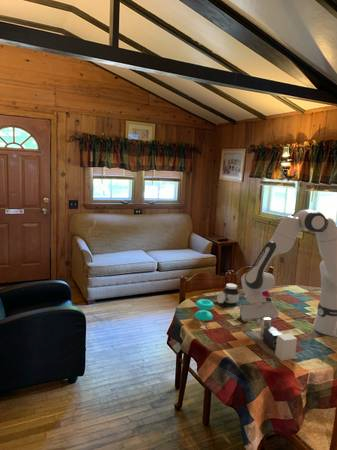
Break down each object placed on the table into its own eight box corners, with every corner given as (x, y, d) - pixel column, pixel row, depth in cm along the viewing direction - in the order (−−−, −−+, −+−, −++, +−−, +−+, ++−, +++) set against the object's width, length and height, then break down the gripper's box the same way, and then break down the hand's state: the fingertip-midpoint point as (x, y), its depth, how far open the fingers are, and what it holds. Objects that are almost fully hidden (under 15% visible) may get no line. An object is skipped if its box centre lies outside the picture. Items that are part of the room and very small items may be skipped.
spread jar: (239, 303, 221) (241, 286, 218) (230, 308, 212) (232, 290, 210) (223, 297, 228) (225, 280, 226) (214, 302, 220) (215, 284, 218)
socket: (287, 352, 163) (290, 333, 161) (294, 358, 158) (297, 338, 156) (275, 354, 161) (277, 334, 159) (281, 360, 156) (284, 340, 154)
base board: (266, 331, 185) (266, 329, 185) (299, 359, 159) (299, 357, 159) (244, 333, 181) (244, 331, 181) (275, 363, 155) (275, 361, 155)
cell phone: (204, 322, 192) (204, 320, 192) (236, 329, 186) (236, 327, 186) (199, 329, 184) (200, 327, 184) (233, 336, 178) (233, 335, 177)
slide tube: (267, 335, 176) (269, 317, 174) (289, 354, 159) (291, 334, 158) (260, 336, 175) (262, 318, 173) (281, 355, 158) (284, 335, 156)
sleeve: (271, 340, 173) (273, 326, 172) (281, 349, 166) (283, 334, 164) (263, 341, 172) (264, 327, 170) (272, 350, 164) (274, 335, 163)
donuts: (199, 306, 188) (193, 298, 198) (198, 322, 190) (192, 314, 200) (216, 305, 191) (210, 298, 200) (215, 321, 193) (208, 314, 202)
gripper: (240, 300, 177) (248, 327, 170) (274, 298, 183) (283, 323, 176) (235, 305, 182) (243, 331, 175) (269, 302, 188) (277, 327, 181)
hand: (264, 327), depth 175 cm, fingers closed, pressing on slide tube
